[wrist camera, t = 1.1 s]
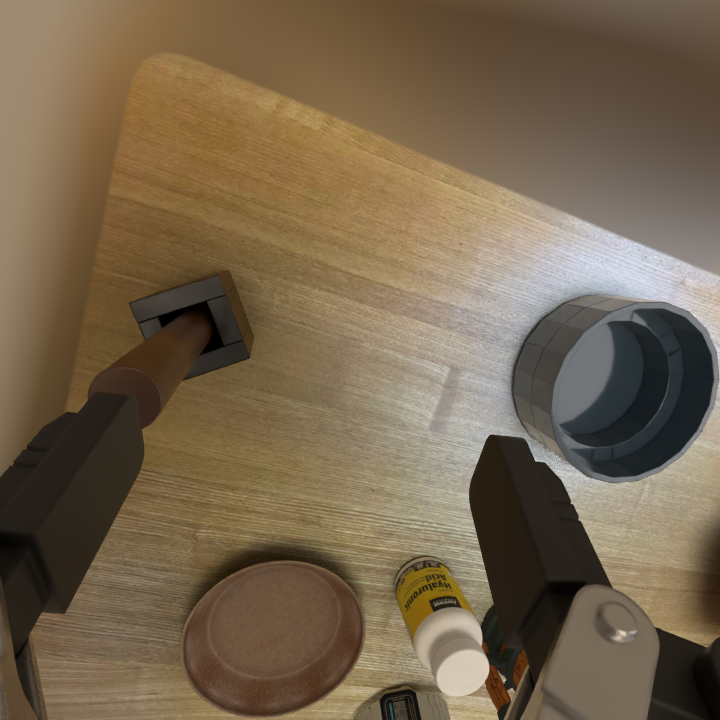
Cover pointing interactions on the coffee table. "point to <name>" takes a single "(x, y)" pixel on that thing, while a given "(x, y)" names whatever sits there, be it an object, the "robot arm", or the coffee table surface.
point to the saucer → (272, 639)
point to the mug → (500, 663)
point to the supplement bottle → (441, 626)
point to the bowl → (617, 385)
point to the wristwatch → (405, 706)
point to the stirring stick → (159, 362)
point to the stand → (225, 311)
